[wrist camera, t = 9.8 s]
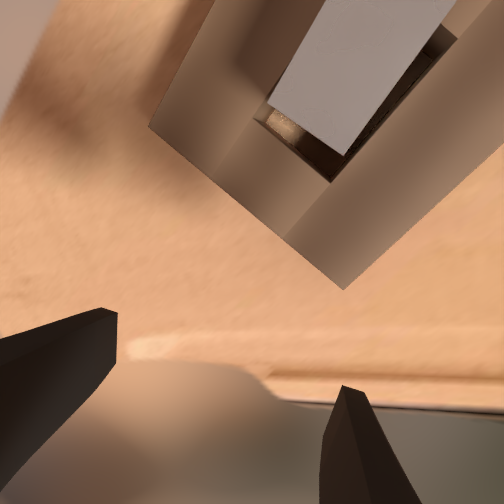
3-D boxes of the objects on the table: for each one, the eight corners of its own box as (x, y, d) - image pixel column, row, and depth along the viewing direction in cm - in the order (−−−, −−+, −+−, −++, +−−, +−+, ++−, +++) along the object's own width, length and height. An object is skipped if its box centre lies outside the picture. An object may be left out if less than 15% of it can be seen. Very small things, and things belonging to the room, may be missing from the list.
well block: (576, 43, 12) (643, 14, 9) (341, 269, 17) (343, 290, 14) (343, -159, 12) (346, -245, 9) (175, 129, 17) (147, 126, 14)
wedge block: (411, 52, 13) (468, -16, 8) (339, 153, 15) (343, 156, 10) (355, 13, 13) (372, -80, 8) (290, 119, 15) (267, 102, 10)
